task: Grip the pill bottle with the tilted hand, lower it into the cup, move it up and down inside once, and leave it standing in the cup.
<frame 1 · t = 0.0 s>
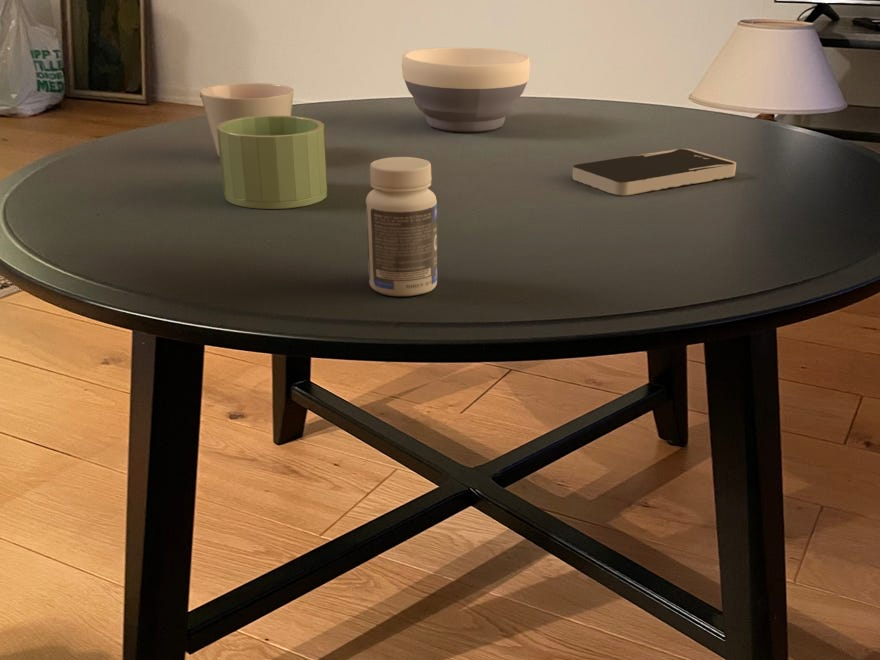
bowl: (465, 127, 119), on the table
pill bottle: (403, 288, 71), on the table
cup: (276, 195, 91), on the table
smartphone: (654, 179, 99), on the table
beige tapered pot: (252, 158, 104), on the table
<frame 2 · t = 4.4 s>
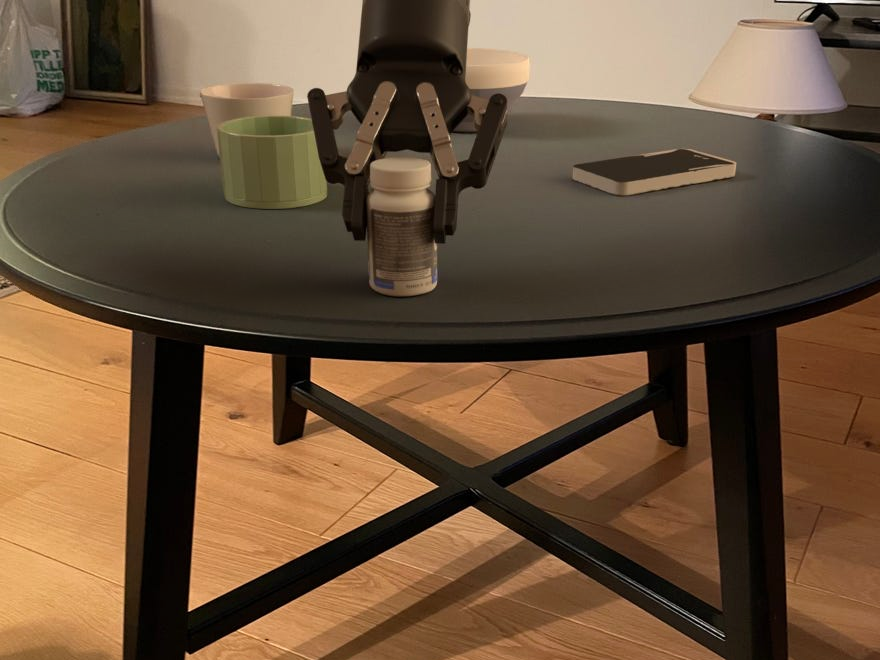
hand: (399, 235, 67), 4 cm above the table, tool tilted 45°, fingers closed on pill bottle, 4 cm apart
pill bottle: (403, 288, 71), on the table, touching gripper
everything else where it was.
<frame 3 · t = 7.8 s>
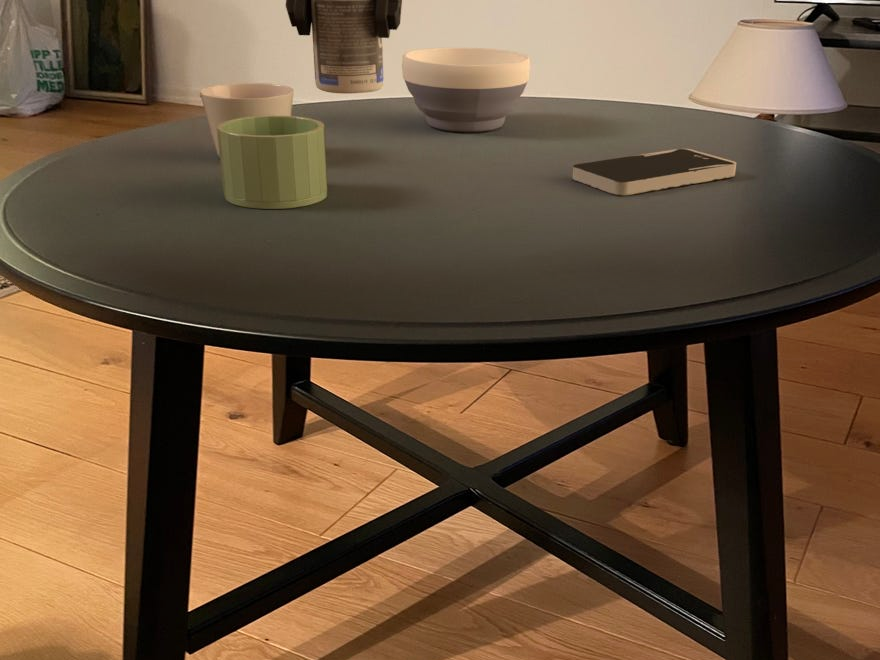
hand: (342, 27, 68), 16 cm above the table, tool tilted 45°, fingers closed on pill bottle, 4 cm apart
pill bottle: (349, 91, 71), point 12 cm above the table, touching gripper
everything else where it was.
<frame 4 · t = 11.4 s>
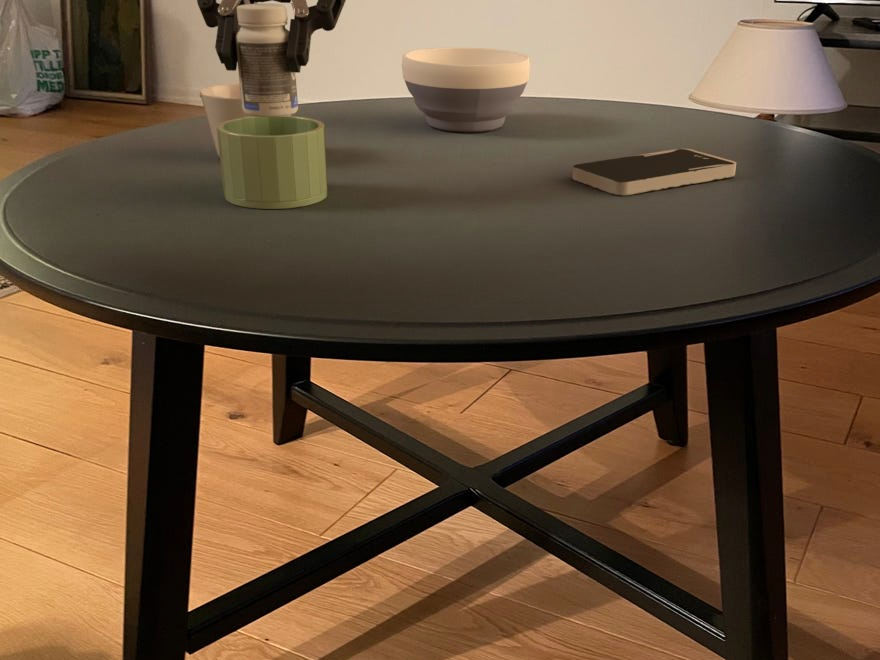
hand: (261, 64, 84), 11 cm above the table, tool tilted 45°, fingers closed on pill bottle, 4 cm apart
pill bottle: (270, 114, 88), point 7 cm above the table, touching gripper
everything else where it was.
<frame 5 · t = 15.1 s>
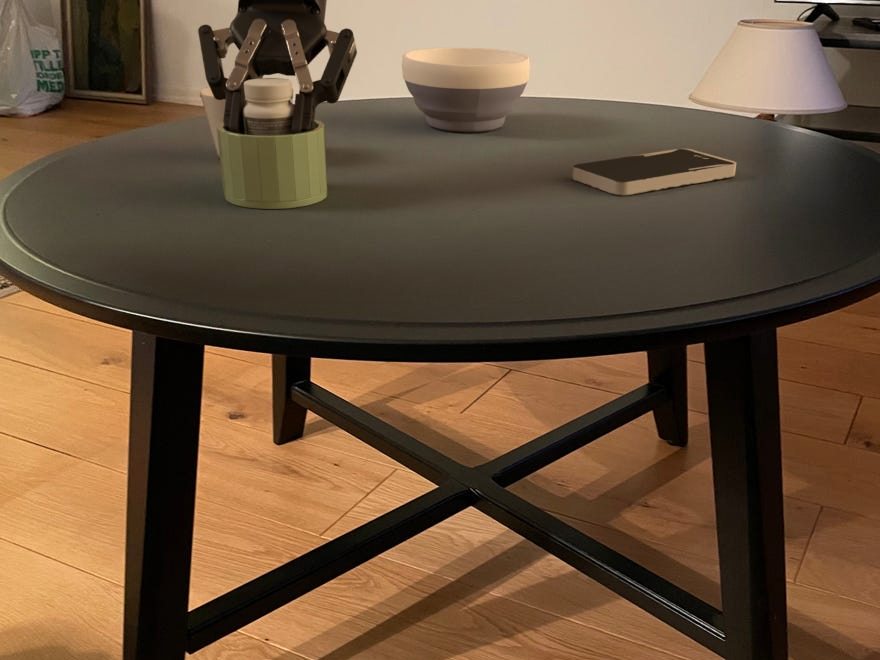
hand: (267, 137, 87), 5 cm above the table, tool tilted 45°, fingers closed on pill bottle, 4 cm apart
pill bottle: (276, 183, 91), point 1 cm above the table, touching gripper
everything else where it was.
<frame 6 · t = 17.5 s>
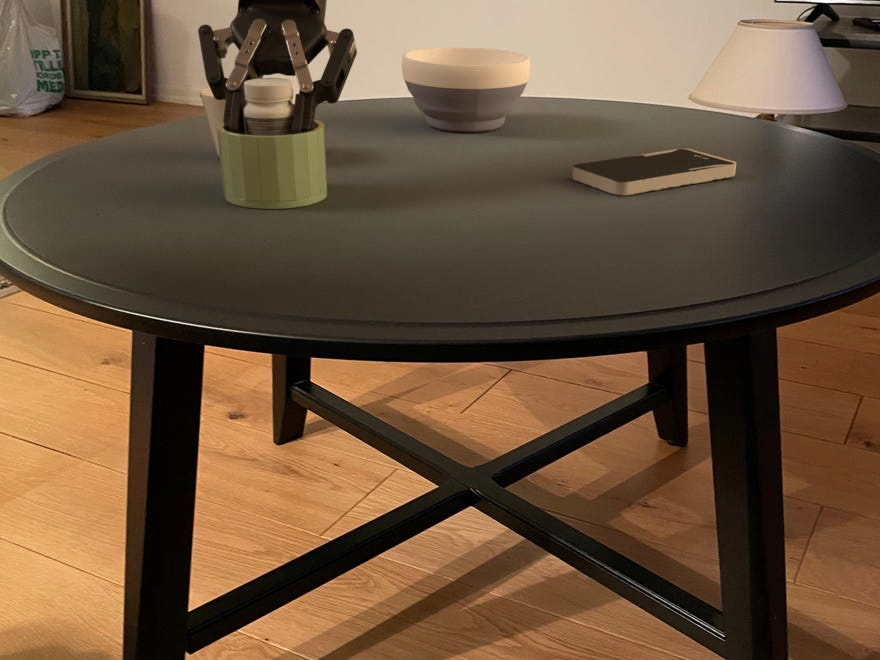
hand: (267, 137, 87), 5 cm above the table, tool tilted 45°, fingers closed on pill bottle, 4 cm apart
pill bottle: (276, 183, 91), point 1 cm above the table, touching gripper
everything else where it was.
when the fingers open (6 cm above the table, at t = 19.1 s): pill bottle stays where it is, resting on cup.
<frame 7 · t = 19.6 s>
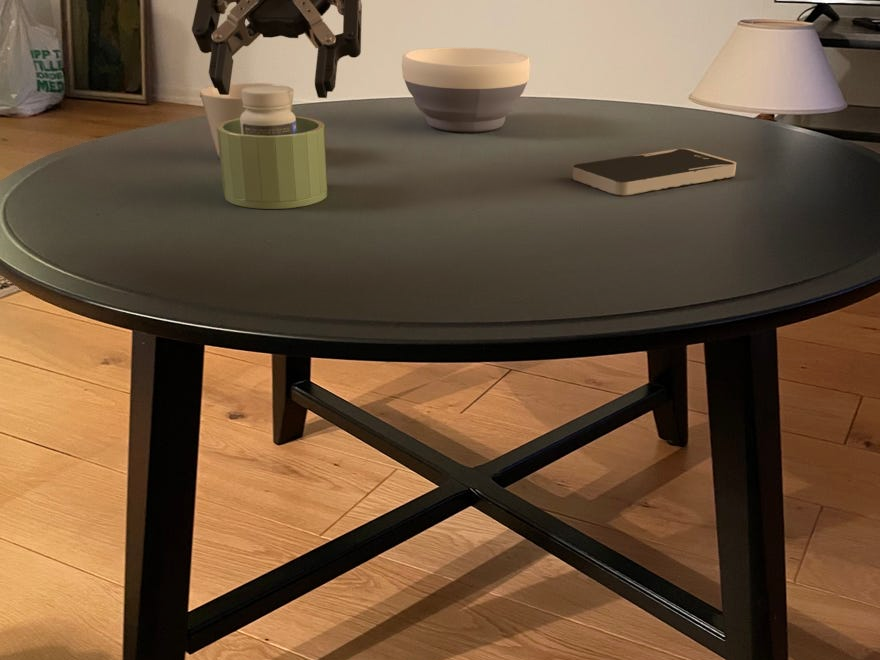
hand: (271, 90, 87), 9 cm above the table, tool tilted 45°, fingers open, 8 cm apart
pill bottle: (273, 190, 91), resting on cup
everything else where it was.
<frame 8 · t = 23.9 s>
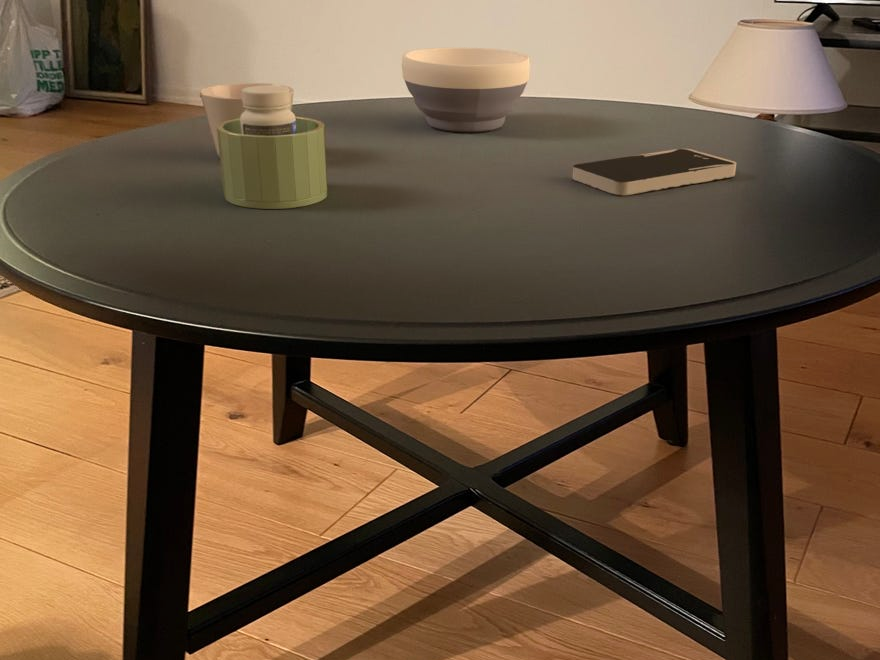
nothing on the table moved.
at the end: pill bottle 0.3 cm off-centre in the cup, point 0.4 cm above the cup's base; pill bottle tilted 0°; the gripper is holding nothing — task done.
